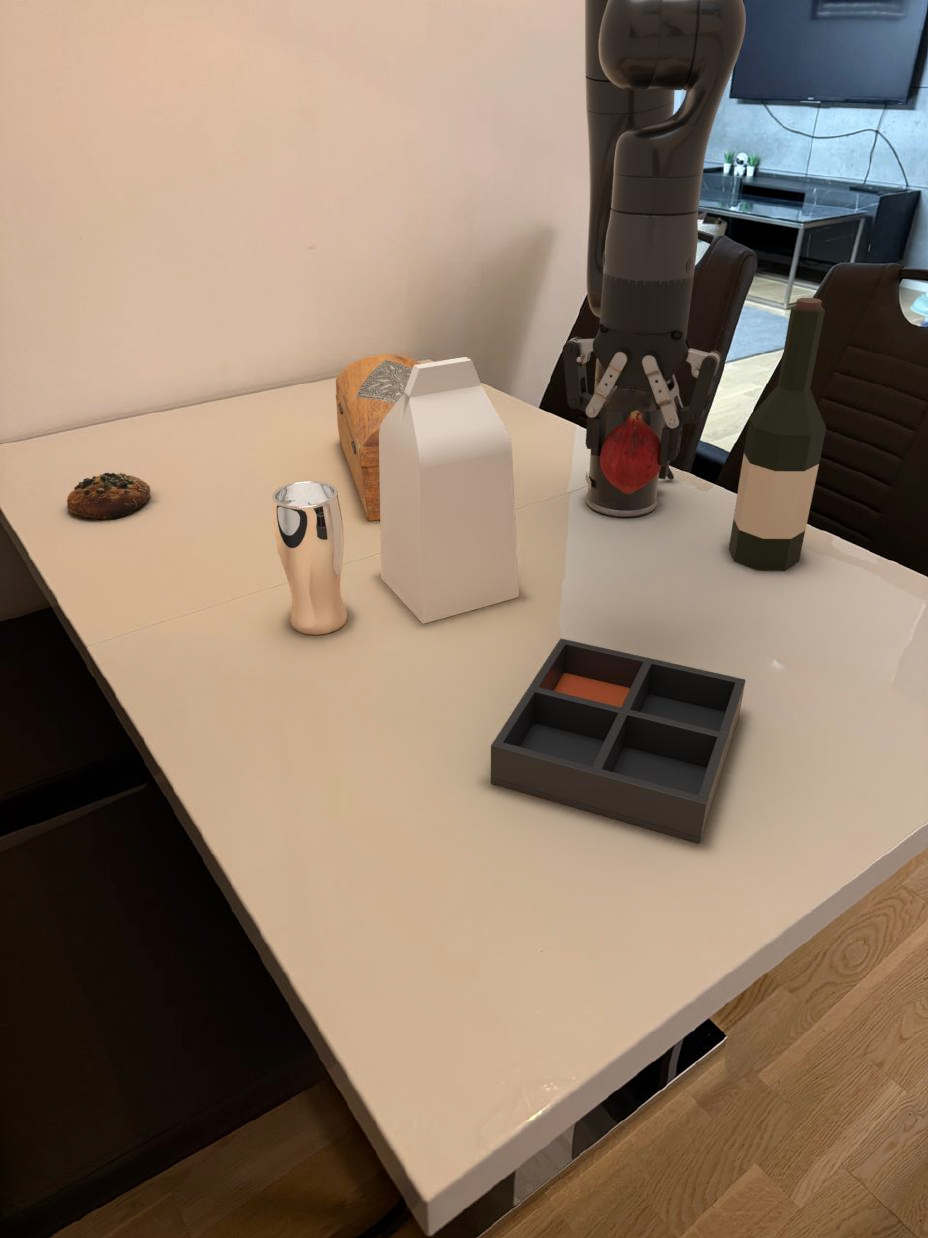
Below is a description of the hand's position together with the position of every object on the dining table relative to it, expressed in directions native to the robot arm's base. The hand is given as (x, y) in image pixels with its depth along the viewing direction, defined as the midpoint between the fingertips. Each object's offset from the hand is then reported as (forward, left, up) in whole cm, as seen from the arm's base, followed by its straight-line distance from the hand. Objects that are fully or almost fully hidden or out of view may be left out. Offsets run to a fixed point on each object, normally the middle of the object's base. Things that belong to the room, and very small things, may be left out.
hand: (630, 457), depth 85 cm
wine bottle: (-25, +11, -20) cm, 34 cm away
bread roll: (-6, -74, -20) cm, 77 cm away
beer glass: (+9, -31, -20) cm, 38 cm away
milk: (-3, -21, -20) cm, 29 cm away
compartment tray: (+17, +5, -20) cm, 27 cm away
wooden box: (-31, -41, -20) cm, 55 cm away
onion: (0, 0, -4) cm, 4 cm away
